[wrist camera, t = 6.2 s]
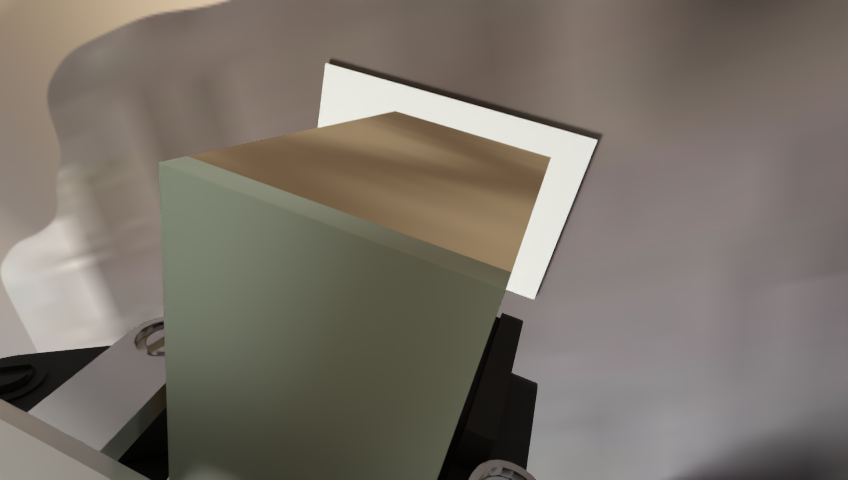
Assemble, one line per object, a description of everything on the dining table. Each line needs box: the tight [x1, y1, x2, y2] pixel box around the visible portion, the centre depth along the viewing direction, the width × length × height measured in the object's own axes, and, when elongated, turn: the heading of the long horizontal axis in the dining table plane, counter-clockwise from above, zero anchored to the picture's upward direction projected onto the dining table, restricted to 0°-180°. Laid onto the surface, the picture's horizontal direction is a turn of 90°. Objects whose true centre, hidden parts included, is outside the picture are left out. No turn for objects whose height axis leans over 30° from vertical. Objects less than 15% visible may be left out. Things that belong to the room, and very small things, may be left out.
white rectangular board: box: [318, 63, 598, 300], centre depth 26 cm, size 16×10×1 cm, turn 76°
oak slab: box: [159, 111, 551, 480], centre depth 10 cm, size 4×10×7 cm, turn 166°
